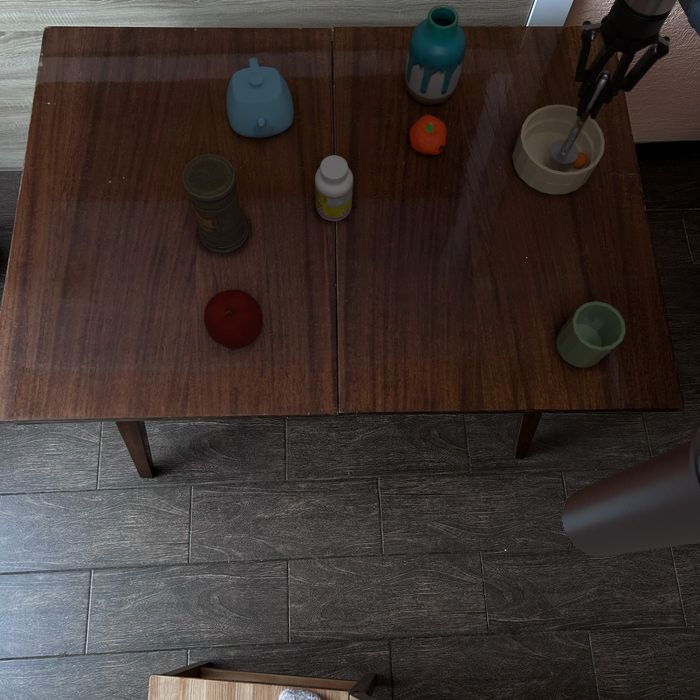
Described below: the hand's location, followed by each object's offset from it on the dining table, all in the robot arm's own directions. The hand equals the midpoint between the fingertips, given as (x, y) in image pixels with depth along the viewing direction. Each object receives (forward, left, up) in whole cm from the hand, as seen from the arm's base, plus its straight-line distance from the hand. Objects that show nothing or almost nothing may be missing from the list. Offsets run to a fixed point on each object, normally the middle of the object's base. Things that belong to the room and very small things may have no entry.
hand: (586, 111), depth 117 cm
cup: (-35, -9, -17) cm, 40 cm away
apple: (-47, +49, -17) cm, 70 cm away
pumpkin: (-1, +25, -17) cm, 30 cm away
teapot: (-4, +57, -17) cm, 60 cm away
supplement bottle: (-19, +39, -17) cm, 47 cm away
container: (-29, +57, -17) cm, 66 cm away
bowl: (+1, +1, -17) cm, 17 cm away
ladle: (0, 0, -14) cm, 14 cm away
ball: (+1, -3, -14) cm, 15 cm away
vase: (+11, +27, -17) cm, 34 cm away
